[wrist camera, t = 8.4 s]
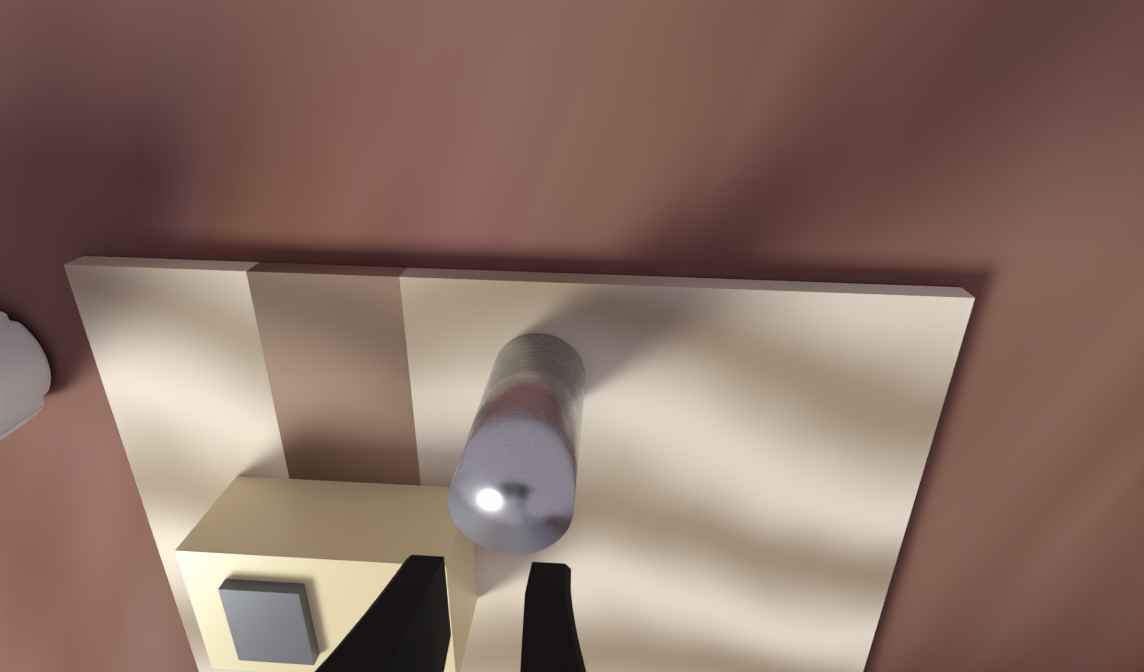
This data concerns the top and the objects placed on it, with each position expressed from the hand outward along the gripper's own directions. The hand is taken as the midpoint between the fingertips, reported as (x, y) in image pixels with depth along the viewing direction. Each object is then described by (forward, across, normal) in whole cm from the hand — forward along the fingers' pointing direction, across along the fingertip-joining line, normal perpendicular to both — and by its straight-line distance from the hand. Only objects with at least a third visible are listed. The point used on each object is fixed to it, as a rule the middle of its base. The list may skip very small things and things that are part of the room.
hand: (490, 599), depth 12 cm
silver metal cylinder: (+9, 0, 0) cm, 9 cm away
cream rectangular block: (+9, +6, +7) cm, 13 cm away
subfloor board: (+9, +1, +6) cm, 11 cm away
